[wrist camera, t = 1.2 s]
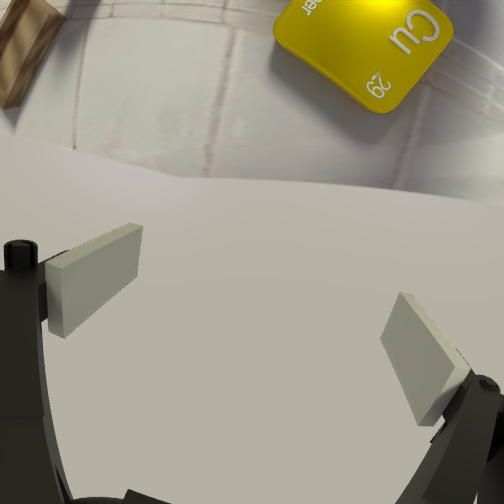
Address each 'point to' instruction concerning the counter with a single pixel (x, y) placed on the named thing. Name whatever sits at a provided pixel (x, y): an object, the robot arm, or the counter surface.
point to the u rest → (24, 45)
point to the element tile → (366, 44)
